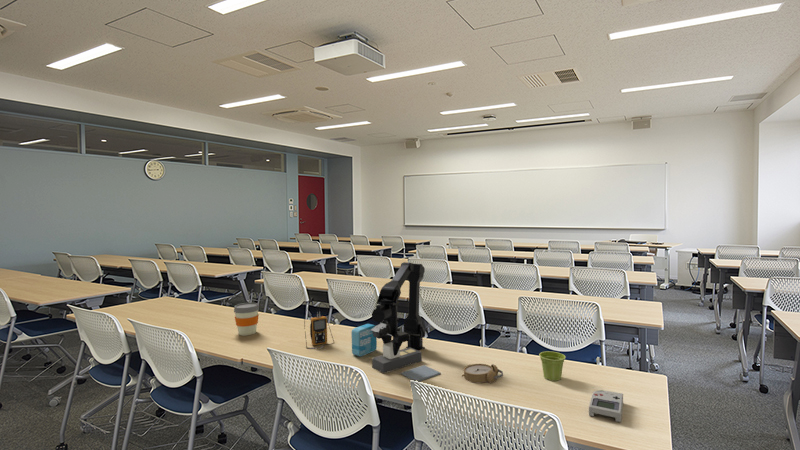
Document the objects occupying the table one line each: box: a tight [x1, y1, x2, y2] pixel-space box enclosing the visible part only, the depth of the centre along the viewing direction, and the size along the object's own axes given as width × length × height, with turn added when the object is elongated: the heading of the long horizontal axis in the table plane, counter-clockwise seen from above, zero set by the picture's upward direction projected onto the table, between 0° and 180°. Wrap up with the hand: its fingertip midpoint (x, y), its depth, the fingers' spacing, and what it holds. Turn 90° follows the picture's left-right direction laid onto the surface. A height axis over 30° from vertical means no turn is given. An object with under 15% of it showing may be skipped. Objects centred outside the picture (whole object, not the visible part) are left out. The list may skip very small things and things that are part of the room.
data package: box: [350, 323, 378, 357], centre depth 190 cm, size 12×4×12 cm, turn 142°
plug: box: [382, 342, 401, 359], centre depth 173 cm, size 5×5×9 cm
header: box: [371, 347, 423, 374], centre depth 175 cm, size 20×8×4 cm, turn 127°
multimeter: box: [303, 302, 335, 350], centre depth 200 cm, size 15×10×20 cm
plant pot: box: [538, 351, 566, 382], centre depth 158 cm, size 9×9×9 cm
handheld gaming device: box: [588, 389, 624, 423], centre depth 134 cm, size 9×15×4 cm, turn 149°
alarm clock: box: [461, 363, 504, 384], centre depth 160 cm, size 11×5×15 cm
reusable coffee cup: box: [233, 302, 260, 336], centre depth 224 cm, size 13×12×15 cm
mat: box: [400, 364, 441, 382], centre depth 165 cm, size 12×10×1 cm
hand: (391, 353), depth 173 cm, fingers closed on plug, 5 cm apart
